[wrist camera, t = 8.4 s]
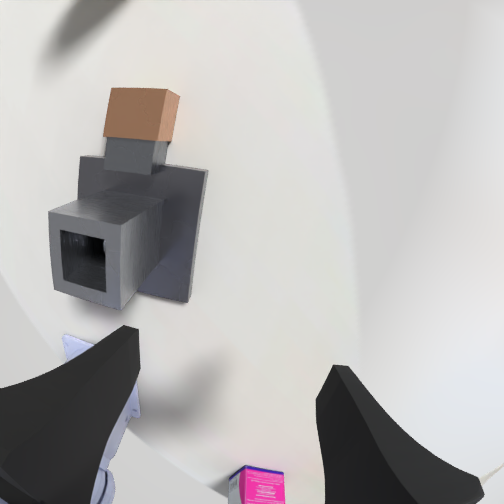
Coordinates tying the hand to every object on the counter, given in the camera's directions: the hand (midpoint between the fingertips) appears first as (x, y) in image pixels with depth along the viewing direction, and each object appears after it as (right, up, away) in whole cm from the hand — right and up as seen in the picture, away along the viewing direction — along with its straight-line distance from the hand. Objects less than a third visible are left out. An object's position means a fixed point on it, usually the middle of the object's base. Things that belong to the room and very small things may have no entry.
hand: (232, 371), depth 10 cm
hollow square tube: (-7, +6, +8) cm, 12 cm away
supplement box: (+1, -26, +21) cm, 34 cm away
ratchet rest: (-7, +8, +8) cm, 14 cm away
